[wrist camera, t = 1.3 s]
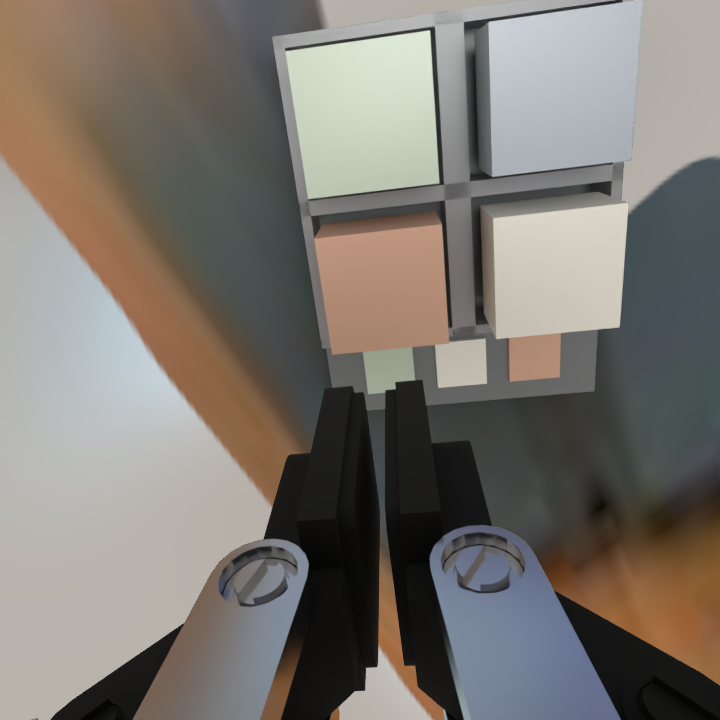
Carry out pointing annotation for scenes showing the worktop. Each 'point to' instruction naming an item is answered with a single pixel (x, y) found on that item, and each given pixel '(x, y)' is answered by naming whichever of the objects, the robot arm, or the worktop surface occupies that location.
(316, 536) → the robot arm
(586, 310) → the ivory key
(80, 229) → the worktop surface
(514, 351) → the keypad board
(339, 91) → the sage key
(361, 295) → the terracotta key
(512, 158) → the slate key
